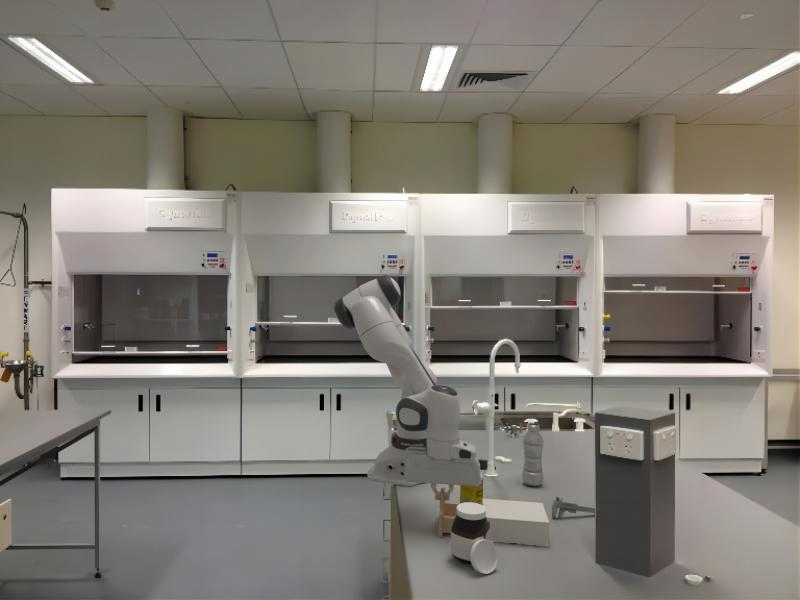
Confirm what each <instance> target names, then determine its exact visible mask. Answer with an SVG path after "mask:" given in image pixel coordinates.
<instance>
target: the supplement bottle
mask: <svg viewBox="0 0 800 600" xmlns="http://www.w3.org/2000/svg"><path fill="white" fill-rule="evenodd" d="M479 464H480V462H479ZM480 465H481V464H480ZM480 473H481V483H480V485H479V486H464V485H459V486H460V487H459V490H460V491H459V503H466V502H472V503H478V504H480V505H482V501H483V499H484V475H483V473H482V472H481V471H480Z"/></svg>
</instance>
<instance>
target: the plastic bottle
mask: <svg viewBox="0 0 800 600" xmlns="http://www.w3.org/2000/svg"><path fill="white" fill-rule="evenodd" d="M526 429H527V432H526V433H525V434H524V436H523V437H522V444H523V445H522V446H523V450H524V451H523V452H524V454H523V455H524V463H523V464H524V465H523V470H522V481H523V482H524V484H525V485H527V486H531V487H539V486H541V485H543V482H544V473H543V466H542V465H543V463H542V462H543V461H542V456H543V448H544V438H543V437H542V435H541V433H540V424H539V423H535V422H529V423H527V428H526Z"/></svg>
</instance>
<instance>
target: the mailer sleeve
mask: <svg viewBox="0 0 800 600" xmlns="http://www.w3.org/2000/svg"><path fill="white" fill-rule="evenodd" d="M482 505H483V506H484V507H485V508H486V517H487V518H488V519H489V522H490V541H494V542H493V543H498V542H506V543H505V544H509V543H517V544H516V545H521V544H525V545H524V546H533V545H536V547H544V546H545V548H546V547H547V548H549V547H550V546H549V545H550V521H549V518H548V516H547V515H548V514H547V512H546V509H545V507H544V503H543V502H537V501H535V502H533V501H520V500H508V499H507V500H505V499H493V498H492V499H491V498H483V501H482ZM526 544H527V545H526Z"/></svg>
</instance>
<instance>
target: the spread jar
mask: <svg viewBox="0 0 800 600" xmlns="http://www.w3.org/2000/svg"><path fill="white" fill-rule="evenodd" d="M450 553H451V556H452V557H453V558H454V559H455V560H457V561H458V562H459V561H460V562H459V563H461V564H463V563H464V565H466V564H468V566H472V567H473V569H474V570H475V571H476V572H478V573H480V574H484V575H488V574H491V573H492V572H494V571H495V570H496V568H497V566H498V562H499V551H498V549H497V547H496V545H495V544H494V542H491V541H490V522H489V519H488V518H487V517H486V508H485V507H484V506H483V505H480V504H478V503H472V502H466V503H461V504H459V505H458V506H457V515H456V517H455V519H454V521H453V523H452V527H451V533H450ZM487 570H488V571H487Z"/></svg>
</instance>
